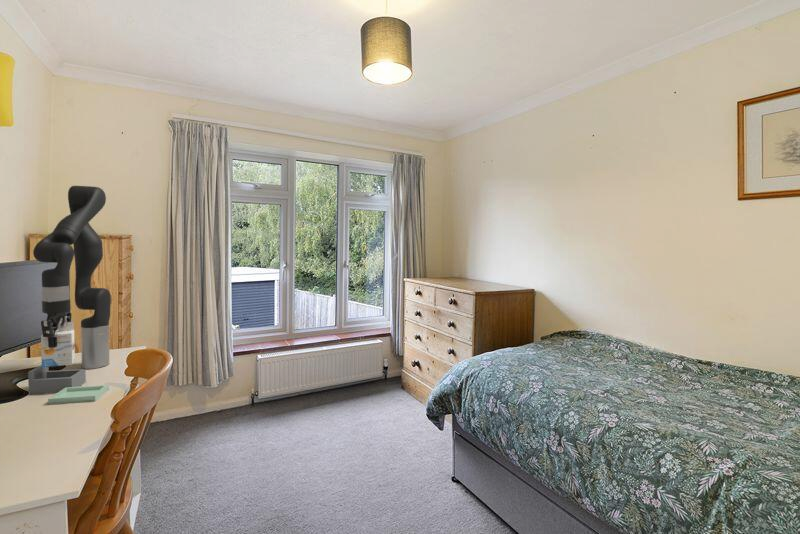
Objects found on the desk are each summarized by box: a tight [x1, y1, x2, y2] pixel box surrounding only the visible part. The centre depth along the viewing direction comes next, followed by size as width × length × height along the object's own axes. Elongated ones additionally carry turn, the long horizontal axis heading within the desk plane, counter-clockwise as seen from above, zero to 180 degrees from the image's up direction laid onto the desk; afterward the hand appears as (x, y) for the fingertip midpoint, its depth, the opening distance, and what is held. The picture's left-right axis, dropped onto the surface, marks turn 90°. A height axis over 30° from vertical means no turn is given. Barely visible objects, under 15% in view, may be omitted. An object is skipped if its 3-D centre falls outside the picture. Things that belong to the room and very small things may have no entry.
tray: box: [47, 384, 110, 405], centre depth 130 cm, size 10×13×2 cm
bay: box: [27, 364, 87, 395], centre depth 136 cm, size 9×12×8 cm
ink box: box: [40, 321, 76, 367], centre depth 136 cm, size 8×5×15 cm, turn 122°
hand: (58, 344), depth 136 cm, fingers closed on ink box, 5 cm apart
